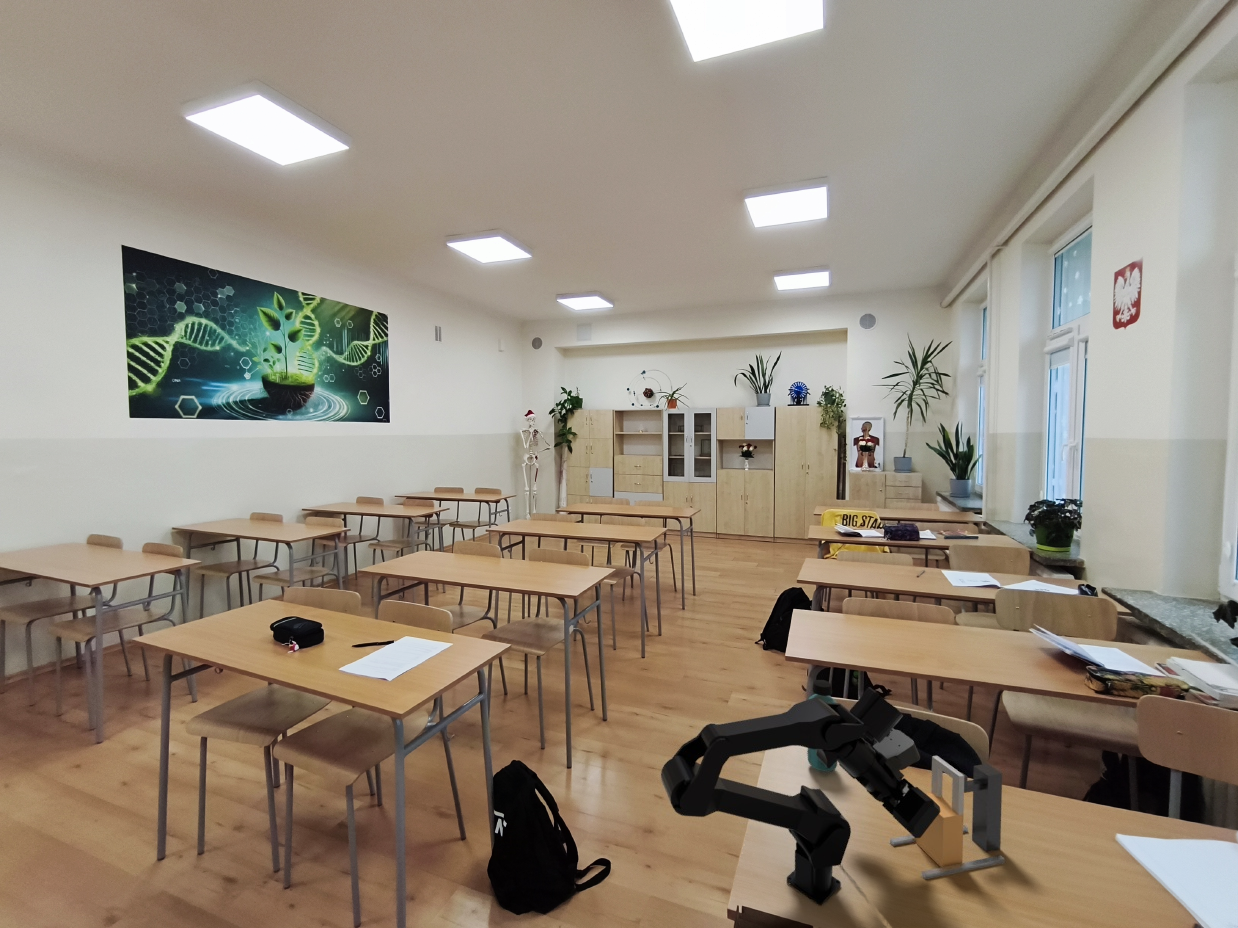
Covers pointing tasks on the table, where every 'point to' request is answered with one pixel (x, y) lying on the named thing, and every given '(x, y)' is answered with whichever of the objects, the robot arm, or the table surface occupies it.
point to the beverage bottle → (823, 692)
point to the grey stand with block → (976, 821)
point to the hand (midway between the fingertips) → (913, 811)
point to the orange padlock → (945, 818)
